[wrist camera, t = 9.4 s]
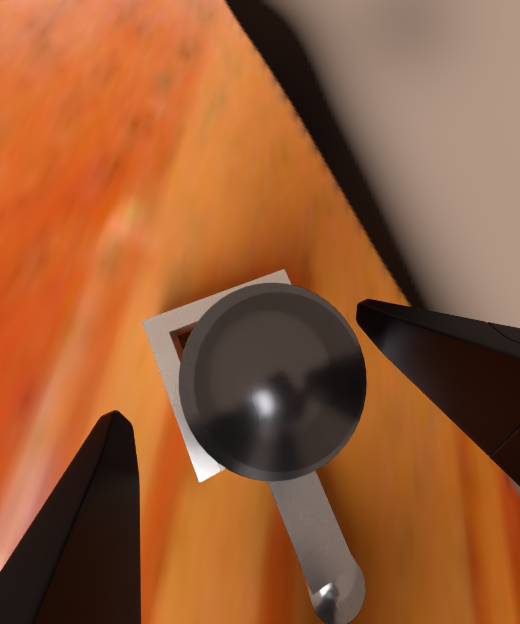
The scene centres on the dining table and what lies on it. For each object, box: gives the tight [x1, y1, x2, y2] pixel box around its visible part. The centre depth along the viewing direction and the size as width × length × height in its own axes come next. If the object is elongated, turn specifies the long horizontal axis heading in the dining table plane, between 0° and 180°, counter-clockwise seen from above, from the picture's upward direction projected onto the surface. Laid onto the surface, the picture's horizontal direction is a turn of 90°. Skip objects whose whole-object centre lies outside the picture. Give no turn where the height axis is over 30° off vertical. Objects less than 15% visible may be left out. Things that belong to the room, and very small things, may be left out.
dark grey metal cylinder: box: [179, 283, 367, 481], centre depth 11 cm, size 5×5×12 cm
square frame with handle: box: [142, 269, 365, 624], centre depth 14 cm, size 20×9×2 cm, turn 23°
